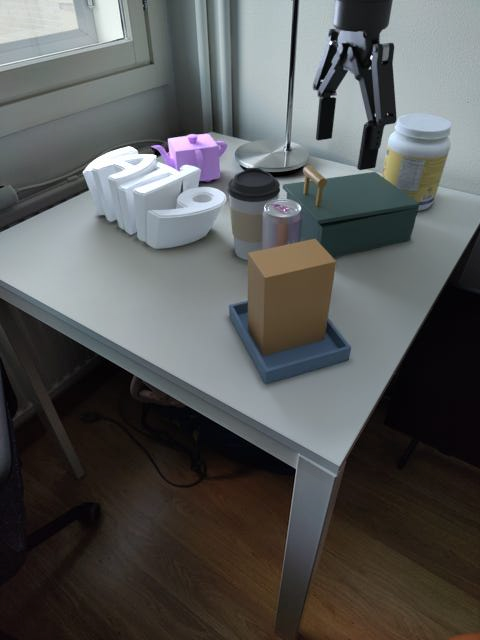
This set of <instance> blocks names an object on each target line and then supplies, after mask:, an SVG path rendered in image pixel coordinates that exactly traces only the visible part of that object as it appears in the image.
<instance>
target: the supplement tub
mask: <svg viewBox="0 0 480 640" xmlns="http://www.w3.org/2000/svg"><path fill="white" fill-rule="evenodd" d="M451 128H452V122H451V121H449V119H447V118H446V117H442V116H439V115H435V114H430V113H408V114H403V115H401V116H399V117H397V120H396V123H395V126H394V129H395V130H394V131H393V132H392V133H391V134H390V136H389V137H388V141H387V145H386V146H387V147H386V151H385V156H384V161H383V166H382V172H381V175H380V176H382V177H383V178H385V179H386V180H387V181H389V182H390V183H392V184H393V185H394V186H396V187H397V188H399V189H400V190H401V191H403V192H404V193H406V194H407V195H408V196H410V197H411V198H413V199H414V200H416V201H417V202H418V203H420V205H419V207H418V212H419V211H425V210H427V209H429V208H430V207H431V206H432V205H433V204H434V202H435V200H436V198H437V193H438V190H439V187H440V183H441V181H442V178H443V177H442V176H443V173H444V170H445V167H446V163H447V160H448V155H449V152H450V150H451V140H450V138H449V136H450V135H451V130H452V129H451Z"/></svg>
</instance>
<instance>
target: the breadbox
mask: <svg viewBox="0 0 480 640" xmlns="http://www.w3.org/2000/svg"><path fill="white" fill-rule="evenodd" d="M285 199H288V200H292V201H295V200H294V199H293V198H292V197H291V196H290V195H289V194H288V193H287V192H286V198H285ZM295 202H296V201H295ZM301 212H302V223H301V234H300V242H302V241H306V240H311V239H316V240H317V241H318V242H319V243H320V244H321V245H322V246H323V248H324V249H325V250H326V251H327V252H328V253H329V254H330V255H331V256H332V257H333V258H337V257H343V256H345V255H346V256H347V255H350V254H355V253H359V252H364V251H368V250H372V249H377V248H381V247H385V246H391V245H394V244H398V243H404V242H409V241H411V238H412V234H413V230H414V227H415V223H416V220H417V216H418V212H419V211H418V208H412V209H406V210H400V211H394V212H388V213H382V214H376V215H370V216H364V217H358V218H352V219H346V220H340V221H334V222H328V223H322V224H317V223H316V222H315V221H314V220H313V219H312V218H311V217H310V216H309V215H308V214H307V213H306V212H305V211H304V210H303V209H302V208H301Z"/></svg>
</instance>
